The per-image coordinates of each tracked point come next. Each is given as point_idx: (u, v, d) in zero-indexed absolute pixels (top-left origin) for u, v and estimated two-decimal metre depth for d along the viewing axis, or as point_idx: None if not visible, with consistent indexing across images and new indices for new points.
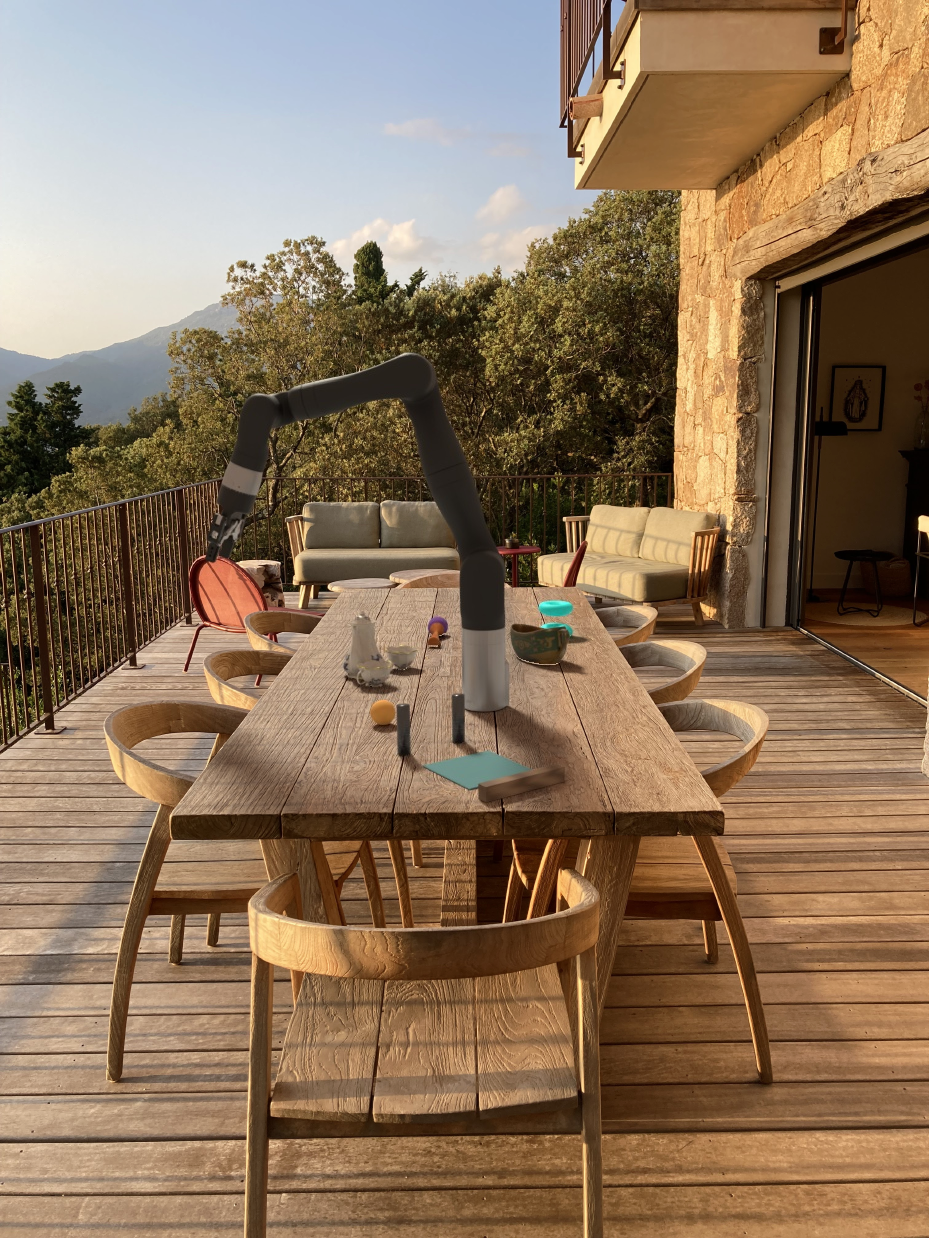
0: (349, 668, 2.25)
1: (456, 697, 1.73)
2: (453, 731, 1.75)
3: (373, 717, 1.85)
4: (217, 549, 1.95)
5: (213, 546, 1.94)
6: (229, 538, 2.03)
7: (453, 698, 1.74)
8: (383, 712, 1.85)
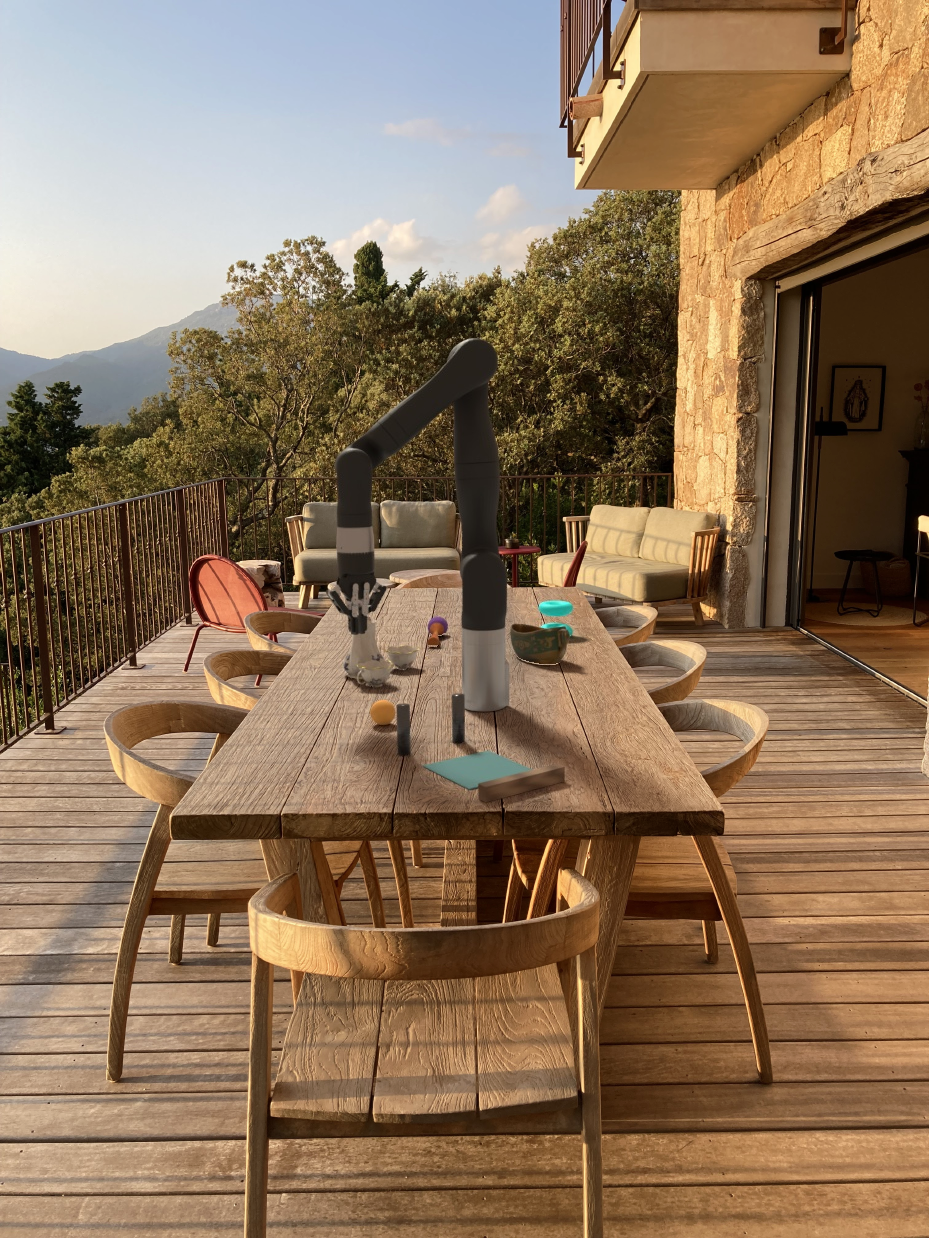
0: (350, 668, 2.25)
1: (456, 697, 1.73)
2: (453, 731, 1.75)
3: (373, 717, 1.85)
4: (354, 620, 1.90)
5: (349, 618, 1.90)
6: (359, 612, 1.92)
7: (453, 698, 1.74)
8: (383, 712, 1.85)
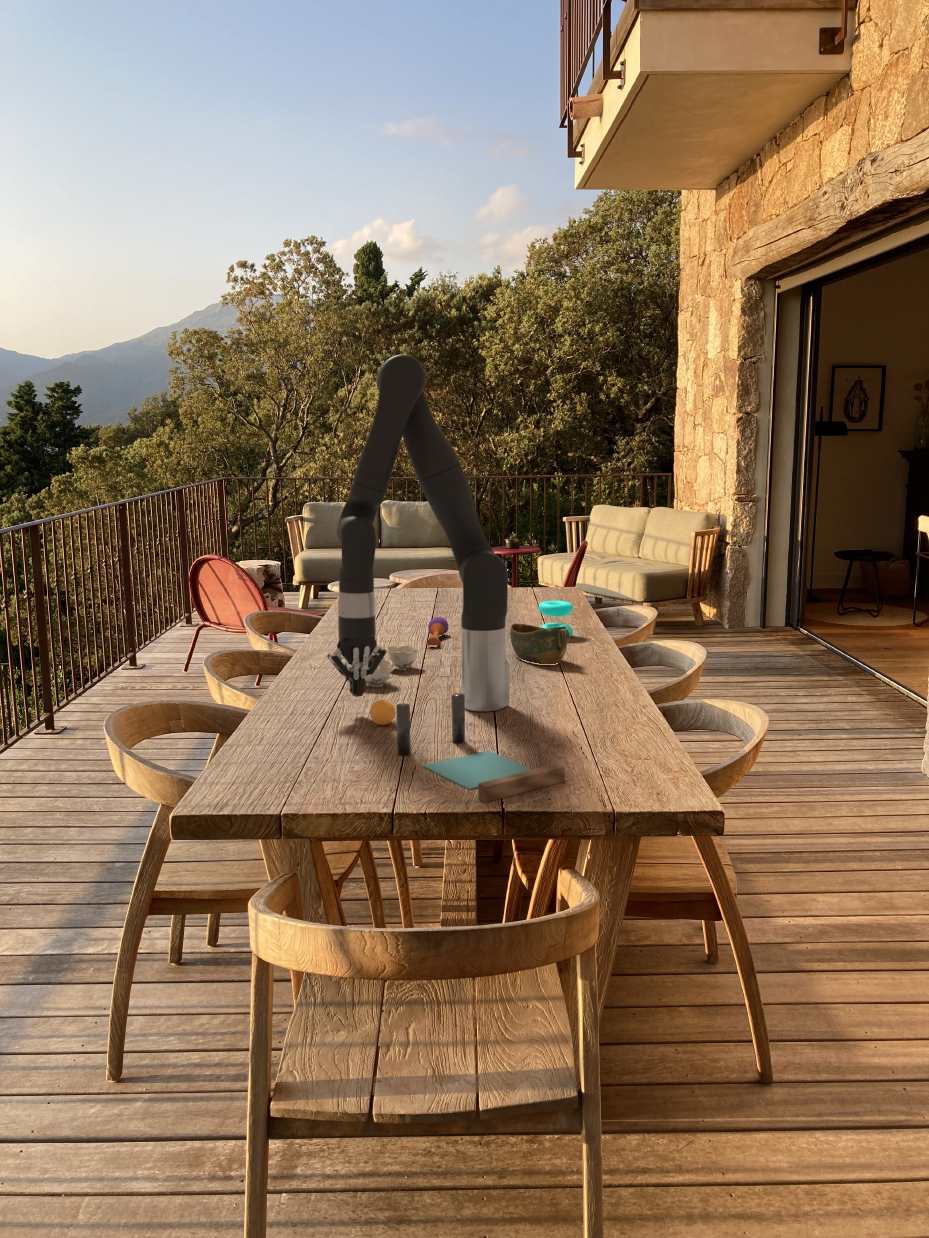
0: None
1: (456, 697, 1.73)
2: (453, 731, 1.75)
3: (373, 717, 1.85)
4: (356, 682, 1.93)
5: (351, 680, 1.93)
6: None
7: (453, 698, 1.74)
8: (383, 712, 1.85)
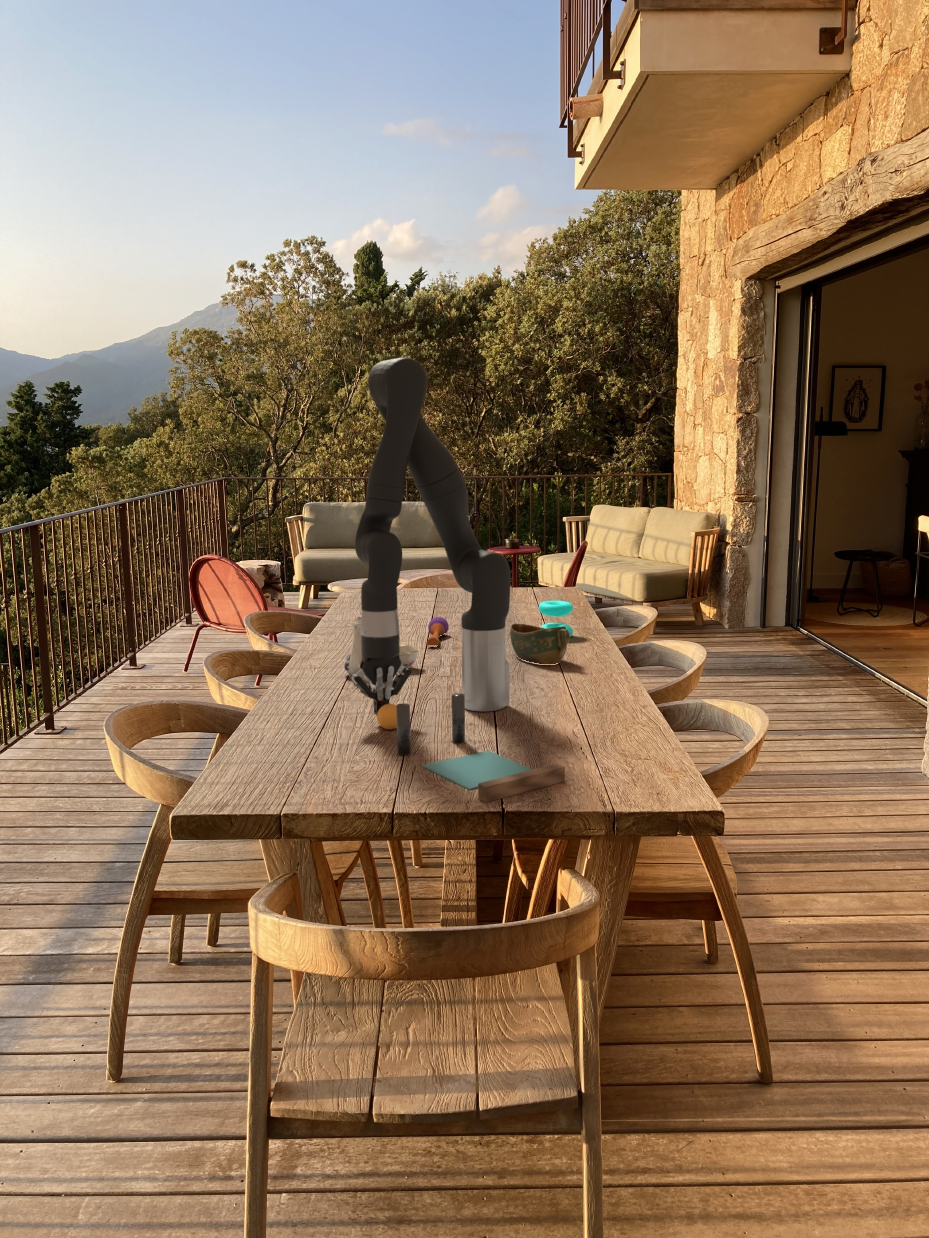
0: (350, 668, 2.25)
1: (456, 697, 1.73)
2: (453, 731, 1.75)
3: (379, 722, 1.83)
4: (380, 703, 1.86)
5: (375, 701, 1.86)
6: None
7: (453, 698, 1.74)
8: (390, 726, 1.82)
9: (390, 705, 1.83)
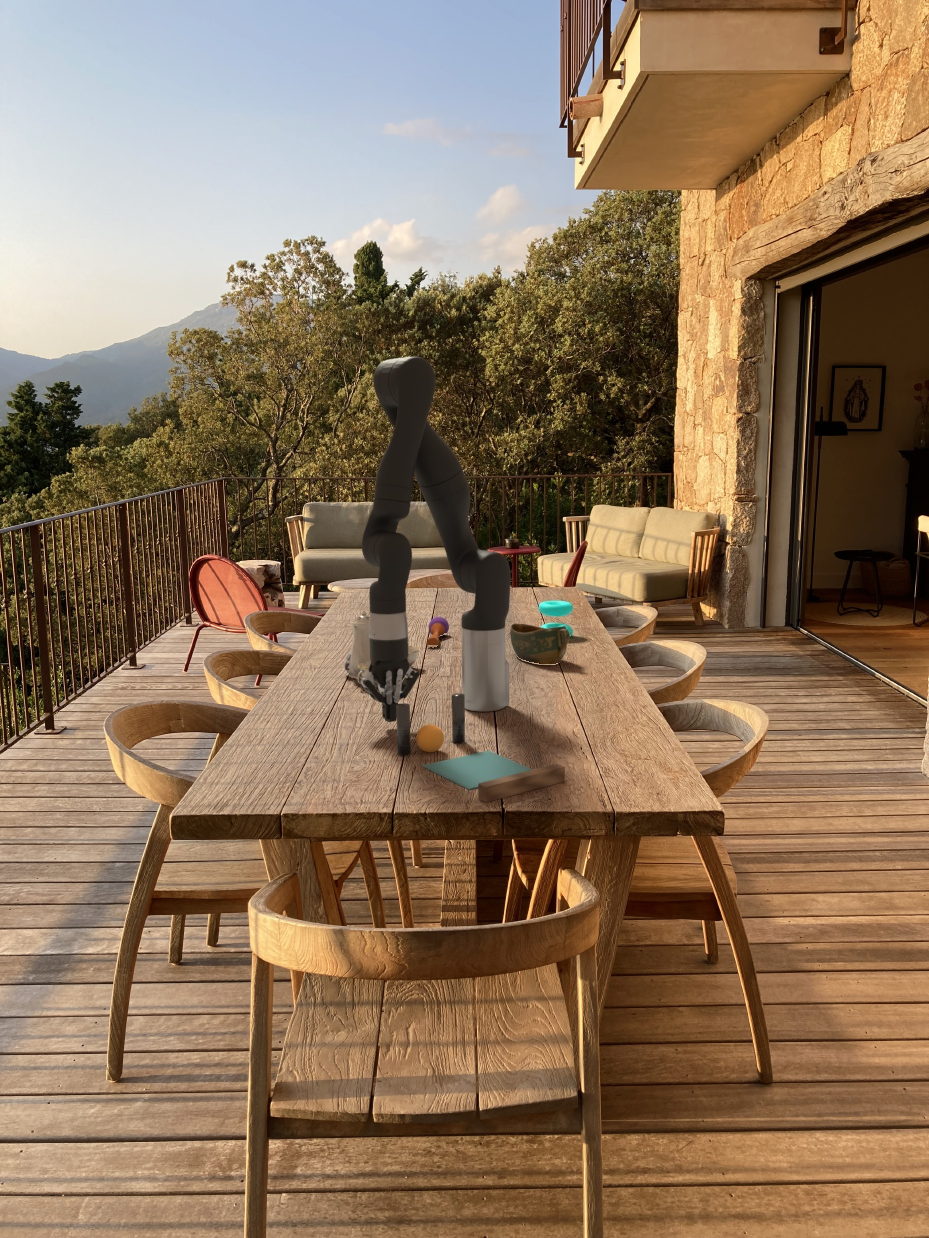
0: (350, 668, 2.25)
1: (456, 697, 1.73)
2: (453, 731, 1.75)
3: None
4: (389, 707, 1.83)
5: (384, 704, 1.83)
6: None
7: (453, 698, 1.74)
8: (429, 751, 1.69)
9: (433, 729, 1.68)
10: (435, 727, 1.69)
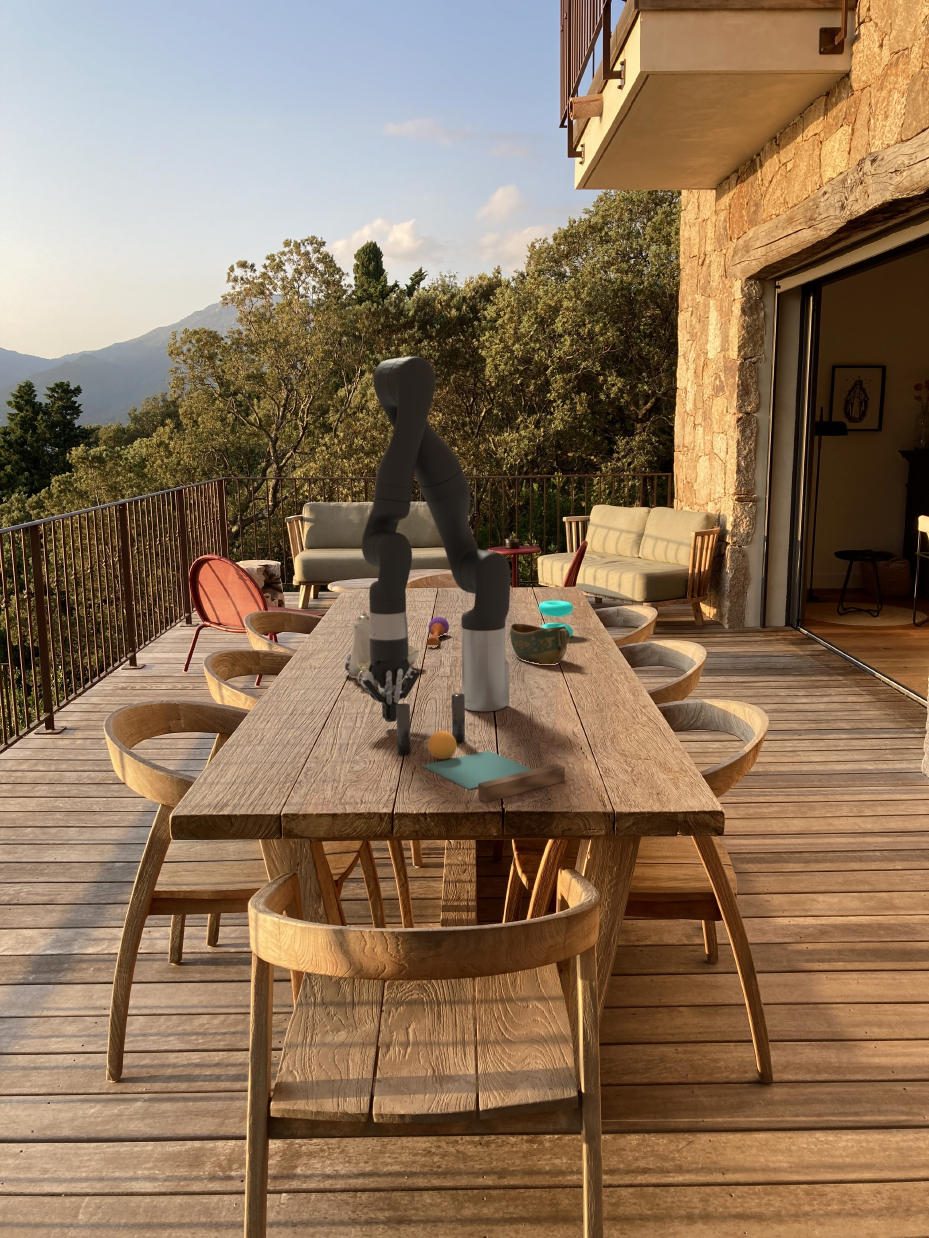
0: (351, 668, 2.25)
1: (456, 697, 1.73)
2: (453, 731, 1.75)
3: (429, 743, 1.65)
4: (389, 707, 1.83)
5: (384, 704, 1.83)
6: None
7: (453, 698, 1.74)
8: None
9: (446, 757, 1.65)
10: (450, 755, 1.65)
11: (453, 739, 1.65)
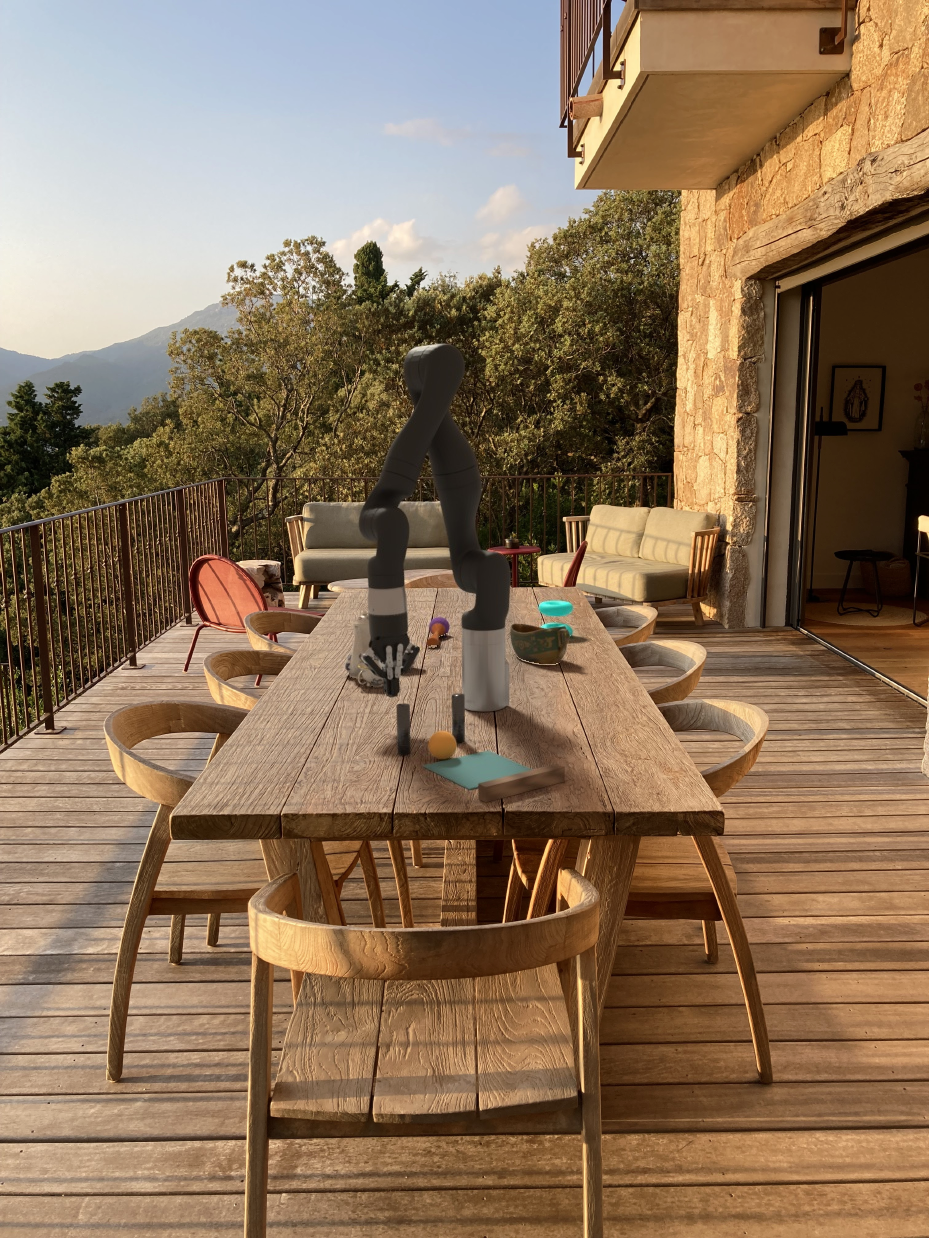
0: (351, 668, 2.25)
1: (456, 697, 1.73)
2: (453, 731, 1.75)
3: (429, 743, 1.65)
4: (390, 682, 1.83)
5: (385, 680, 1.83)
6: None
7: (453, 698, 1.74)
8: None
9: (446, 757, 1.65)
10: (450, 755, 1.65)
11: (453, 739, 1.65)
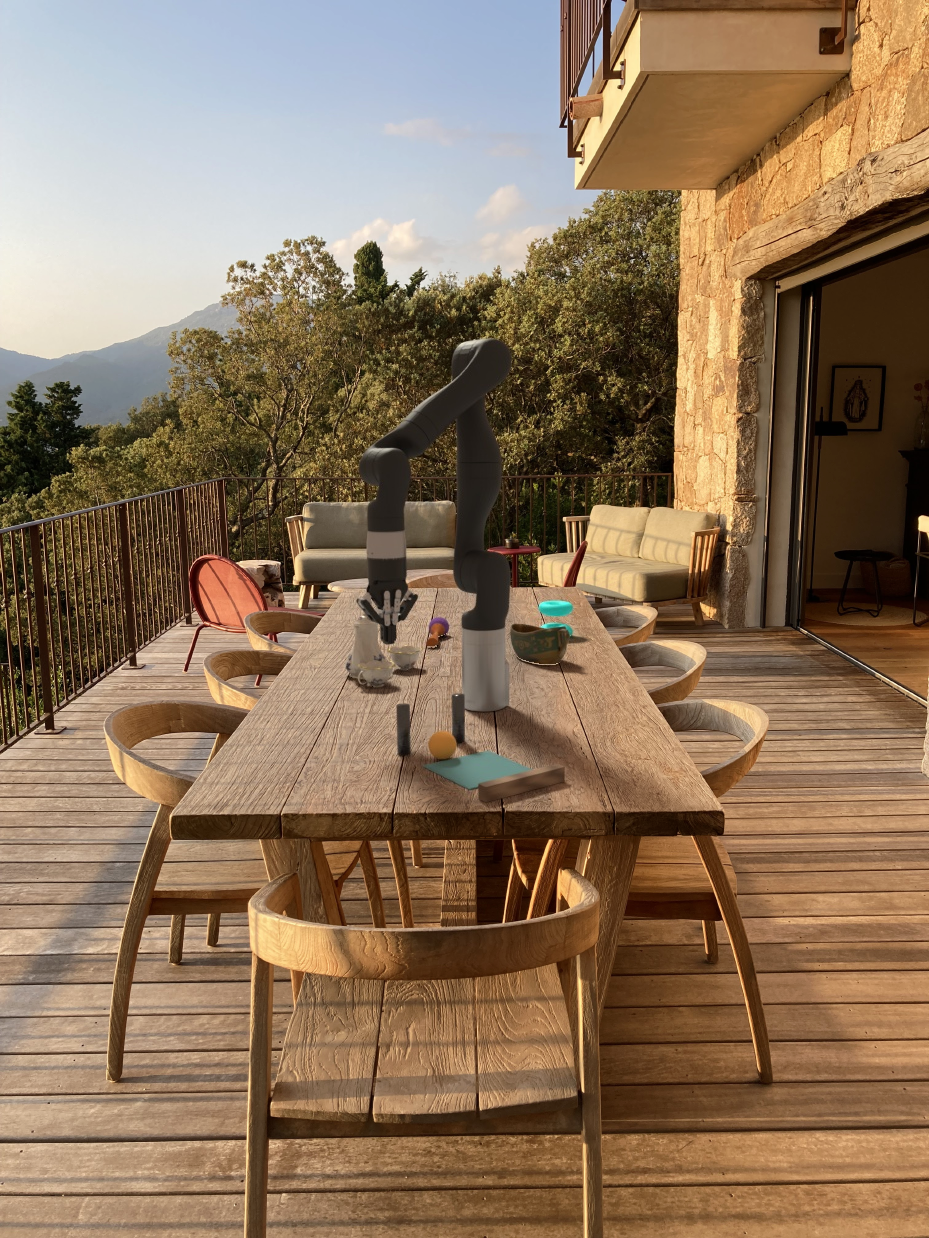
0: (351, 668, 2.25)
1: (456, 697, 1.73)
2: (453, 731, 1.75)
3: (429, 743, 1.65)
4: (387, 629, 1.80)
5: (382, 626, 1.80)
6: None
7: (453, 698, 1.74)
8: None
9: (446, 757, 1.65)
10: (450, 755, 1.65)
11: (453, 739, 1.65)
